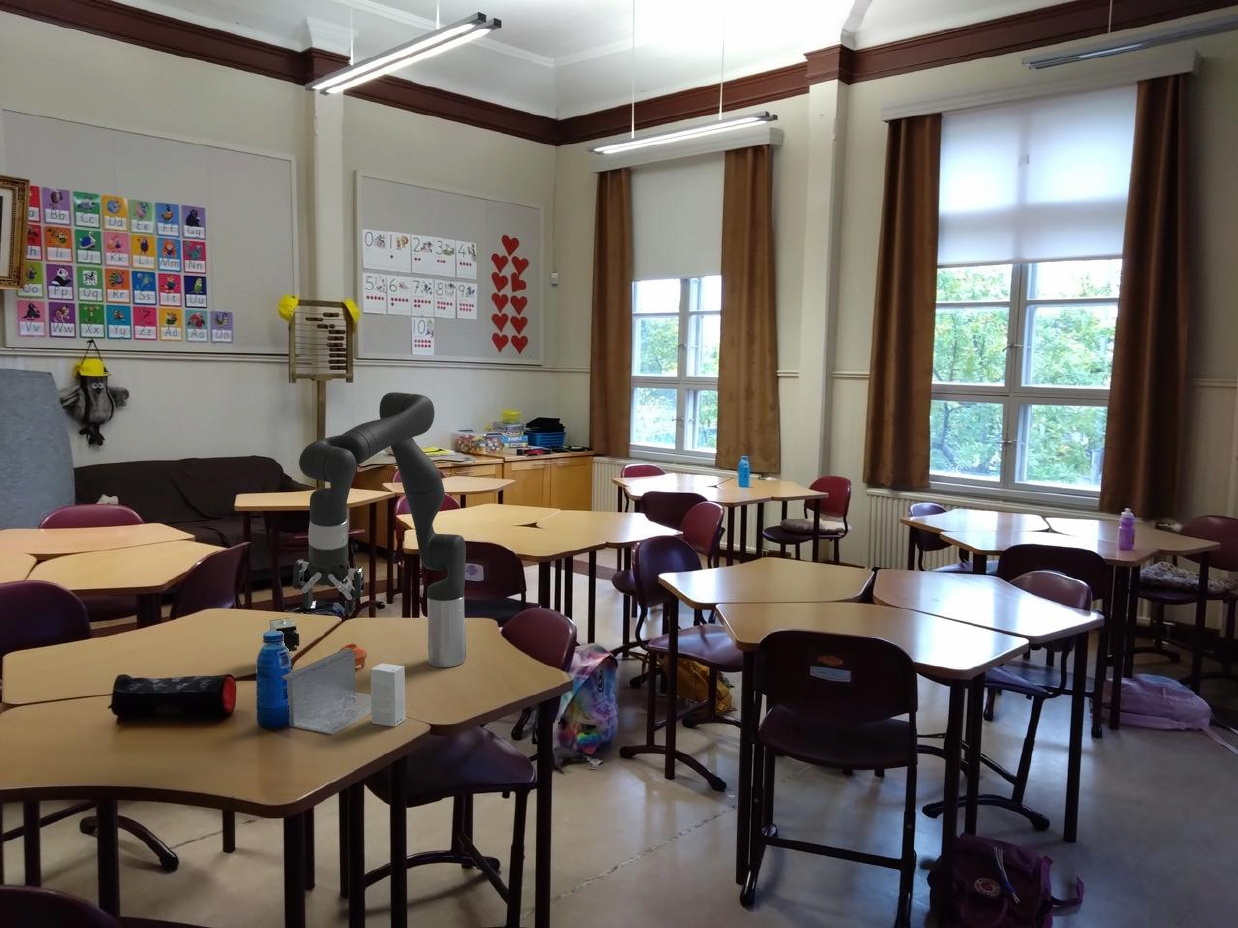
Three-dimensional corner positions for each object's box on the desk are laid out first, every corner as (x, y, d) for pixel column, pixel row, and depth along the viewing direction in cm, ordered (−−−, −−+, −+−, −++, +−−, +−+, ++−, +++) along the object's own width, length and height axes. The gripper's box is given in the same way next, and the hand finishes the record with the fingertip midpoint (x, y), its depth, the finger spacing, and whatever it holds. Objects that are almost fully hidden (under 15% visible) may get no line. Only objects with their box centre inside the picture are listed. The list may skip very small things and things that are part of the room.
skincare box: (406, 720, 189) (405, 665, 188) (395, 727, 185) (394, 672, 184) (382, 716, 191) (381, 662, 190) (370, 723, 187) (369, 668, 186)
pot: (364, 673, 217) (357, 647, 216) (334, 680, 217) (326, 654, 216) (374, 661, 225) (367, 636, 224) (344, 668, 225) (337, 643, 224)
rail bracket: (346, 693, 204) (345, 648, 203) (391, 701, 200) (390, 655, 199) (283, 724, 186) (282, 676, 185) (332, 734, 181) (331, 684, 180)
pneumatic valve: (278, 673, 217) (277, 626, 216) (269, 660, 227) (268, 614, 226) (302, 669, 220) (300, 622, 219) (292, 656, 230) (291, 611, 229)
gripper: (369, 536, 180) (369, 605, 186) (302, 526, 181) (303, 596, 187) (356, 552, 173) (355, 624, 179) (285, 542, 174) (287, 613, 180)
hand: (329, 609), depth 183 cm, fingers open, 8 cm apart
